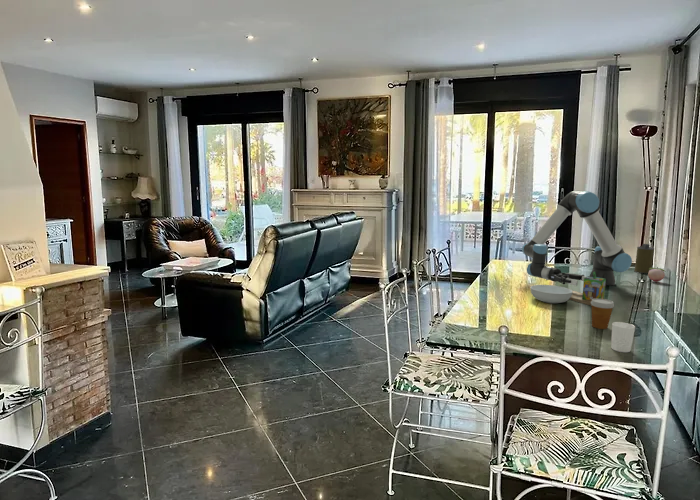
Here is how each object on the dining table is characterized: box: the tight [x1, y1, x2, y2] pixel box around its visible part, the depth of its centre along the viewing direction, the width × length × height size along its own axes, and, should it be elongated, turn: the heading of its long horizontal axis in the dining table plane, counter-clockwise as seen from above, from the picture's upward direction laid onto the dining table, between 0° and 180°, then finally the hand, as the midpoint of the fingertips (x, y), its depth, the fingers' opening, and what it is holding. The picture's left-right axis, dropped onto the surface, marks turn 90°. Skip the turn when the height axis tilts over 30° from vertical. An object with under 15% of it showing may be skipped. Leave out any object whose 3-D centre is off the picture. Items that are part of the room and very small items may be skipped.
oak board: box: [569, 290, 608, 306], centre depth 276 cm, size 14×24×2 cm, turn 29°
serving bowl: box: [529, 284, 574, 304], centre depth 268 cm, size 21×21×7 cm
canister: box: [633, 243, 655, 274], centre depth 352 cm, size 11×10×20 cm
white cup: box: [610, 321, 636, 353], centre depth 198 cm, size 8×8×10 cm
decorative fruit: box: [647, 266, 666, 283], centre depth 322 cm, size 9×8×10 cm
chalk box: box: [582, 271, 606, 301], centre depth 267 cm, size 9×9×15 cm
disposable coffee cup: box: [590, 298, 615, 330], centre depth 226 cm, size 10×10×12 cm
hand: (585, 281), depth 272 cm, fingers open, 13 cm apart
